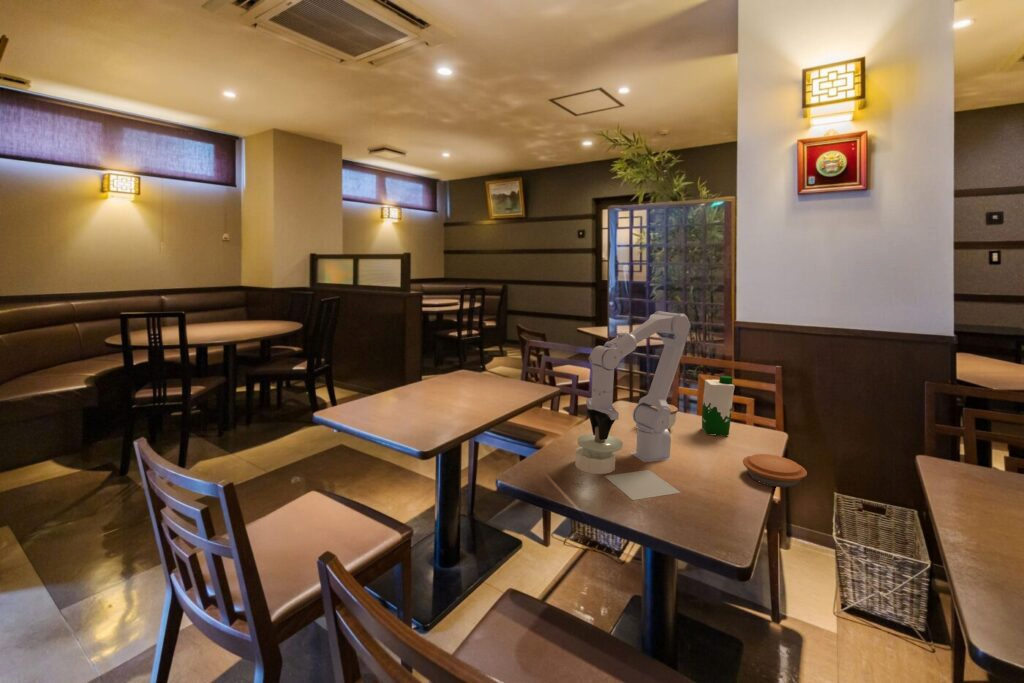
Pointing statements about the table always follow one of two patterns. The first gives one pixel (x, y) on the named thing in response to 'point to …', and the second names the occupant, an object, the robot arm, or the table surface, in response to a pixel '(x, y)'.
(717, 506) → the table surface
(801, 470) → the pie
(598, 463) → the bowl
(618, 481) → the mat
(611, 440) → the lid
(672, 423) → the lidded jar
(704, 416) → the milk carton
